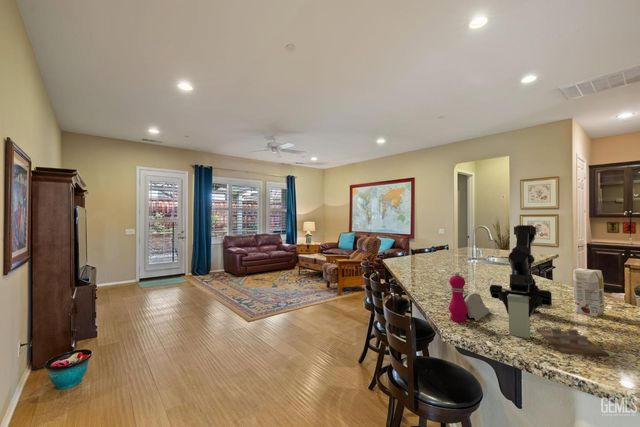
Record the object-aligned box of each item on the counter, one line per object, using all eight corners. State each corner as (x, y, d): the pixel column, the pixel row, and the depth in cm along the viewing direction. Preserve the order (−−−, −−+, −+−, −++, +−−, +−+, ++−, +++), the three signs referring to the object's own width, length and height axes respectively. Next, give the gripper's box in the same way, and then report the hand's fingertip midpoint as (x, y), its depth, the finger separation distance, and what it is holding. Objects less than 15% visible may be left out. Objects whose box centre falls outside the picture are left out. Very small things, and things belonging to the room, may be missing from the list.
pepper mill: (445, 317, 123) (444, 270, 124) (461, 316, 124) (460, 270, 125) (455, 323, 116) (453, 273, 117) (472, 322, 117) (470, 273, 117)
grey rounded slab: (476, 321, 118) (466, 296, 121) (465, 322, 122) (456, 298, 124) (490, 311, 130) (481, 289, 132) (479, 313, 133) (471, 291, 136)
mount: (536, 330, 107) (535, 321, 107) (575, 333, 103) (574, 324, 104) (561, 352, 90) (560, 341, 90) (609, 356, 86) (608, 345, 86)
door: (510, 331, 106) (508, 293, 107) (530, 335, 103) (528, 296, 103) (509, 334, 104) (507, 295, 104) (529, 338, 100) (528, 298, 101)
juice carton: (597, 318, 119) (595, 271, 119) (572, 312, 126) (570, 268, 127) (606, 315, 122) (604, 270, 122) (581, 309, 129) (579, 267, 130)
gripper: (489, 263, 113) (485, 298, 104) (550, 267, 101) (550, 307, 92) (493, 280, 119) (489, 314, 110) (551, 286, 107) (552, 324, 98)
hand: (518, 314), depth 102 cm, fingers closed on door, 6 cm apart
